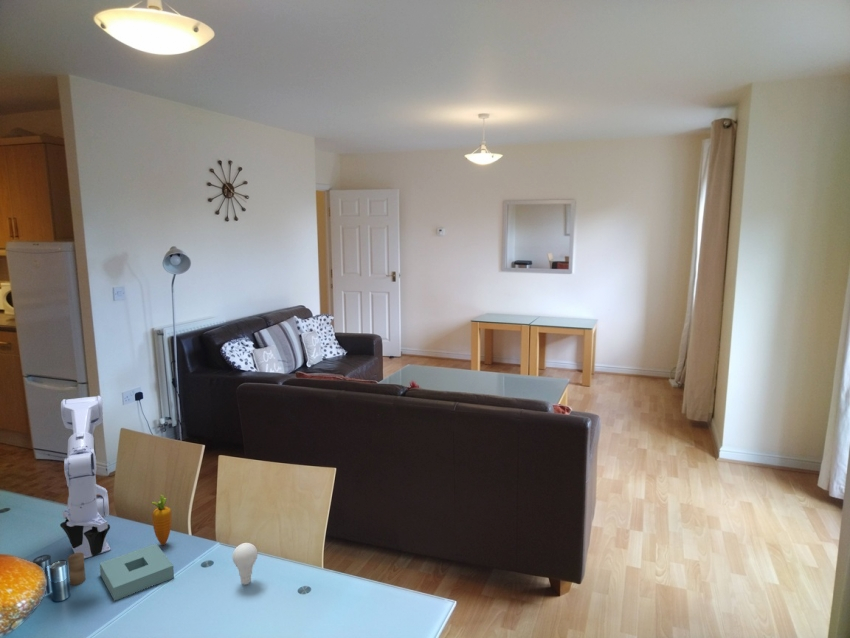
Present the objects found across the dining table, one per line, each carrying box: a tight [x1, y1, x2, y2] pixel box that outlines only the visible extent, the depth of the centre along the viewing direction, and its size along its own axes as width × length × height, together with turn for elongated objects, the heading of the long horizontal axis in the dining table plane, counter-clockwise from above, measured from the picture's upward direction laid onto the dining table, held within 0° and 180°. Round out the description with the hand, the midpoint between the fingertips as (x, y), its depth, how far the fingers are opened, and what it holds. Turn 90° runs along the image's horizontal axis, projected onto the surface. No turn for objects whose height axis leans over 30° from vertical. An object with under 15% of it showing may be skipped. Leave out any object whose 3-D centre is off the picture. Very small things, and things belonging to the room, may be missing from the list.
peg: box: [67, 552, 86, 586], centre depth 139 cm, size 3×3×7 cm
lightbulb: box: [232, 542, 258, 585], centre depth 139 cm, size 6×6×11 cm
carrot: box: [151, 494, 172, 547], centre depth 156 cm, size 5×5×15 cm
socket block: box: [99, 543, 175, 602], centre depth 142 cm, size 14×14×4 cm
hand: (87, 550), depth 137 cm, fingers open, 7 cm apart
